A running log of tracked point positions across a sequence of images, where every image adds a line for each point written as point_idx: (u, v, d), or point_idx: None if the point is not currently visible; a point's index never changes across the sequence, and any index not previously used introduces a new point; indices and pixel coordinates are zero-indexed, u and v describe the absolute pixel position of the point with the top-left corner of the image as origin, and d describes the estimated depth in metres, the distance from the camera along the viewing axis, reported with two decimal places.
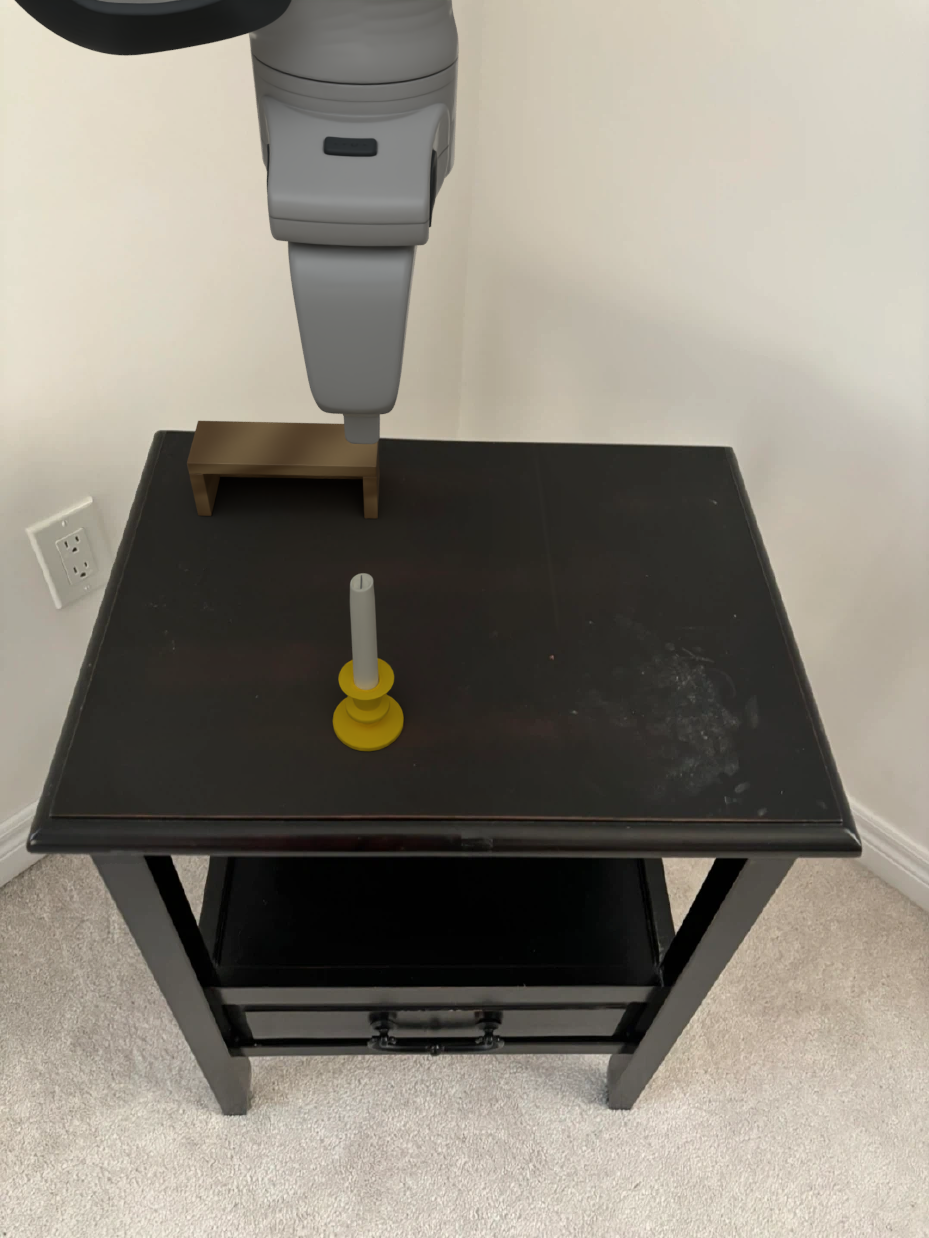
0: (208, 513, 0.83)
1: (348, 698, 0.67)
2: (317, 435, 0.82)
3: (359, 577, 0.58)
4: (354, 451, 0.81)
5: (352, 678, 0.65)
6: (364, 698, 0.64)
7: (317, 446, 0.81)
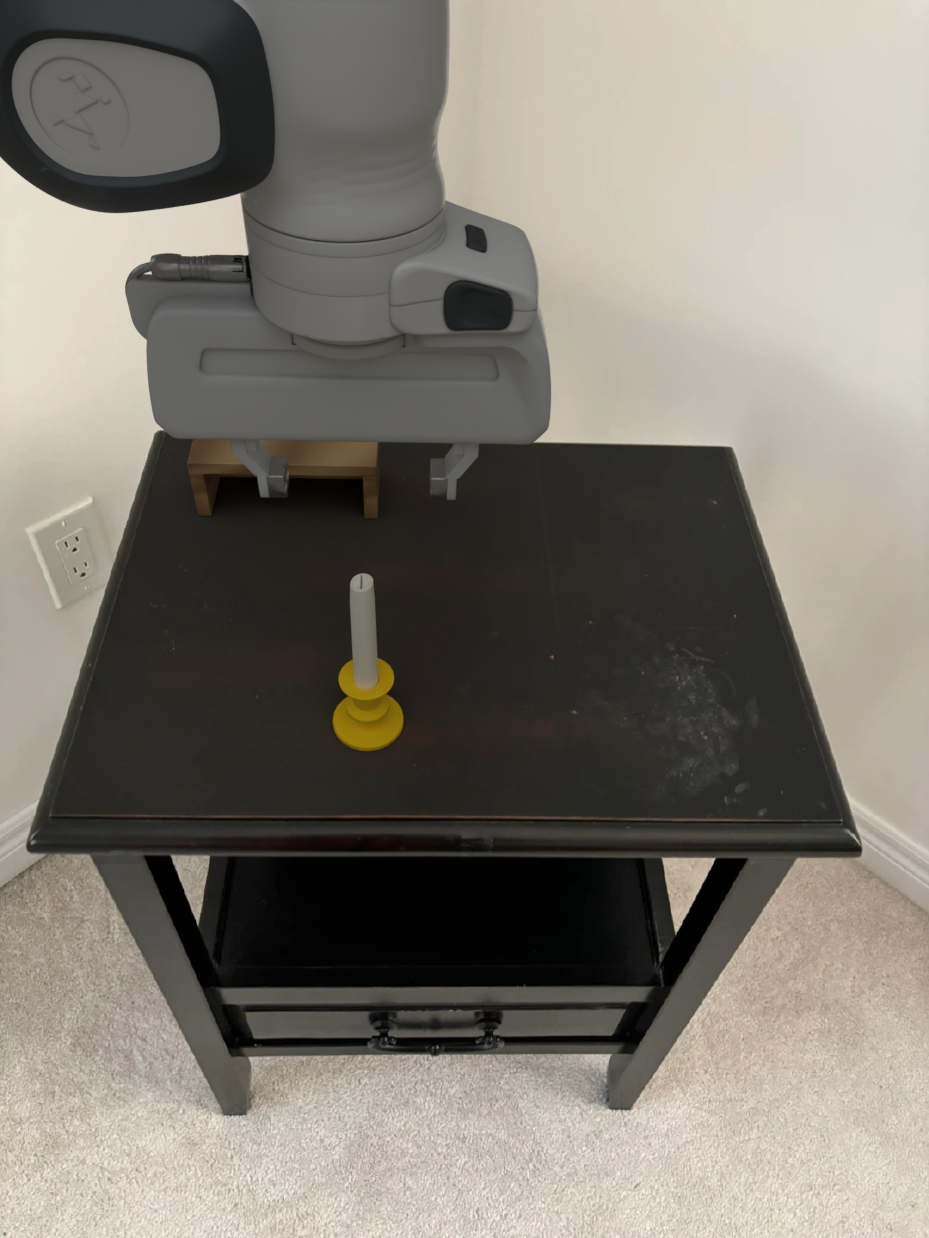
0: (208, 513, 0.83)
1: (348, 698, 0.67)
2: None
3: (359, 577, 0.58)
4: (354, 451, 0.81)
5: (352, 678, 0.65)
6: (364, 698, 0.64)
7: (317, 446, 0.81)
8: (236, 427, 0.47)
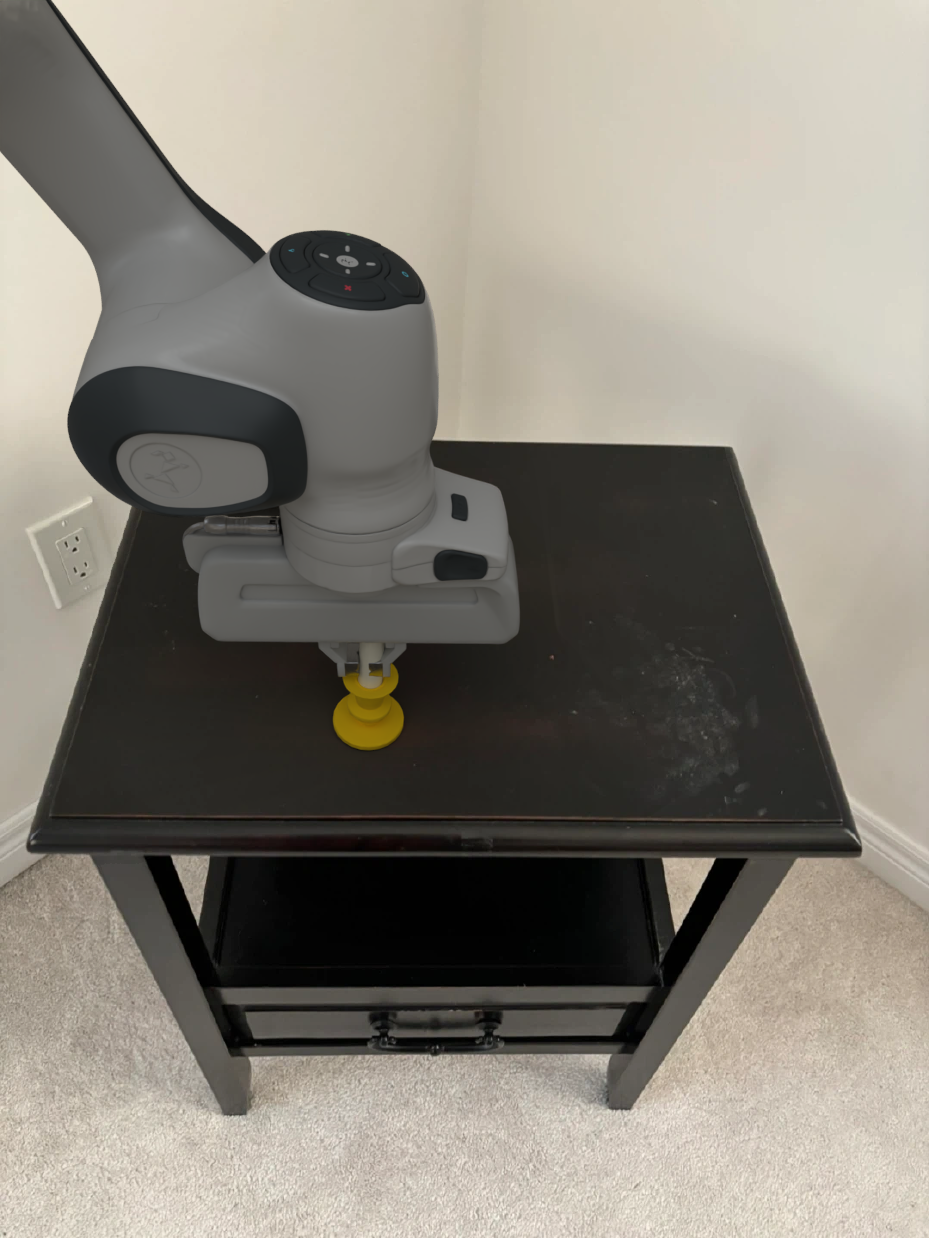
0: None
1: (350, 696, 0.67)
2: None
3: None
4: None
5: (356, 676, 0.65)
6: (368, 697, 0.64)
7: None
8: (267, 634, 0.59)
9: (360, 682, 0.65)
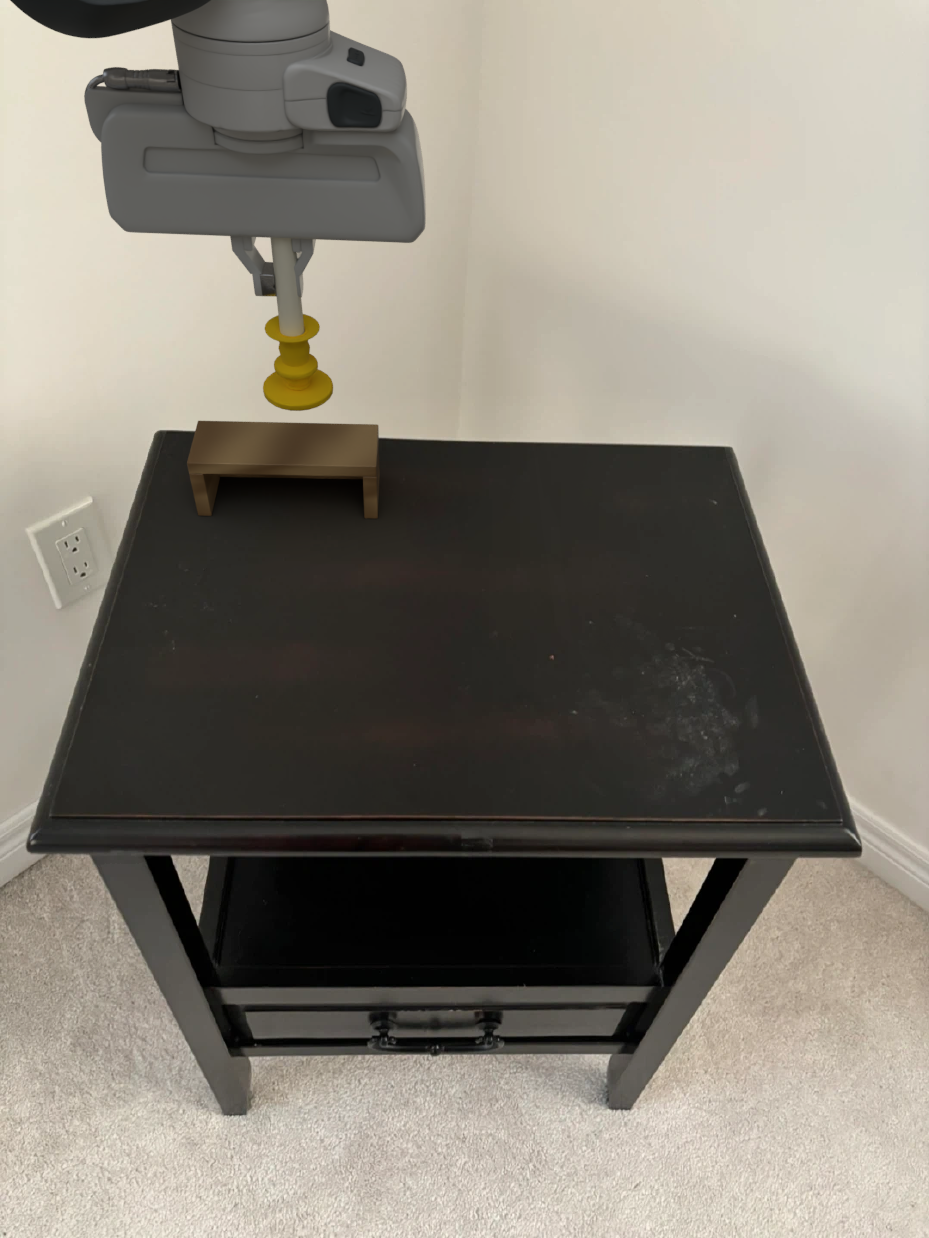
0: (208, 513, 0.83)
1: None
2: (317, 435, 0.82)
3: None
4: (354, 451, 0.81)
5: None
6: (277, 339, 0.65)
7: (317, 446, 0.81)
8: (174, 221, 0.59)
9: (279, 328, 0.66)
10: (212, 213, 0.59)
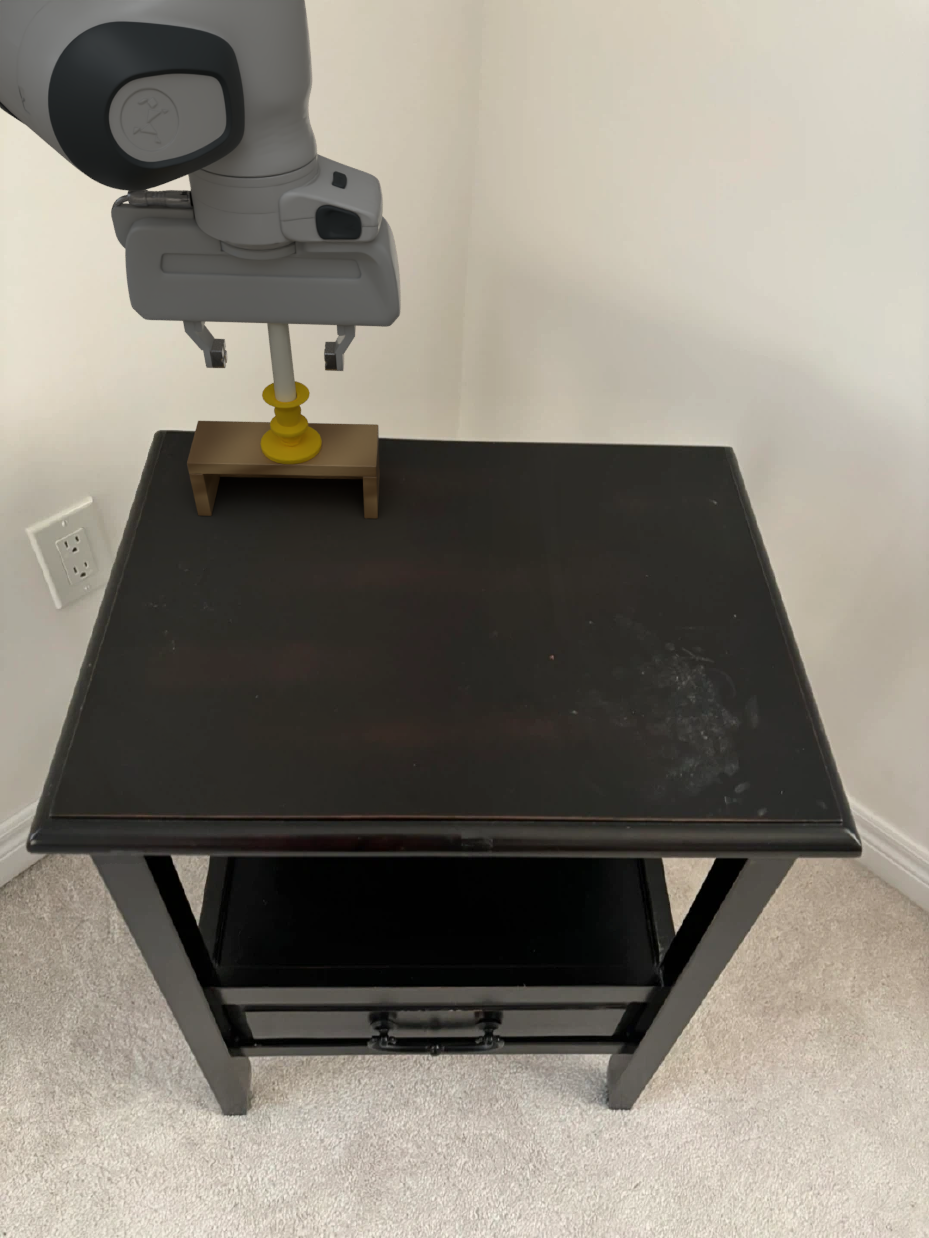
0: (208, 513, 0.83)
1: None
2: None
3: None
4: (354, 451, 0.81)
5: None
6: (273, 405, 0.76)
7: None
8: (186, 311, 0.70)
9: (275, 395, 0.77)
10: (219, 304, 0.69)
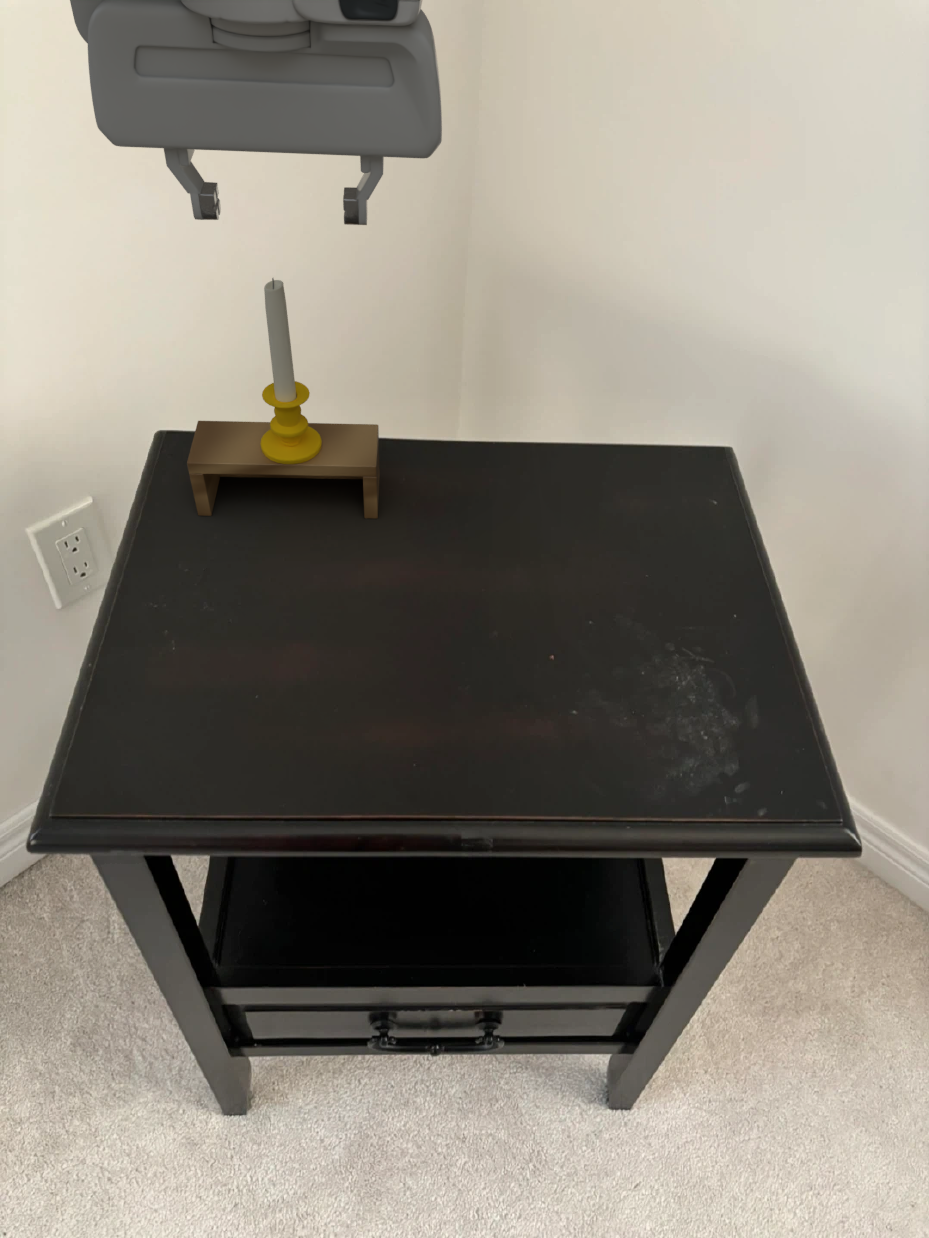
0: (208, 513, 0.83)
1: None
2: None
3: (275, 283, 0.70)
4: (354, 451, 0.81)
5: None
6: (273, 405, 0.76)
7: None
8: (168, 133, 0.54)
9: (275, 395, 0.77)
10: (210, 124, 0.54)
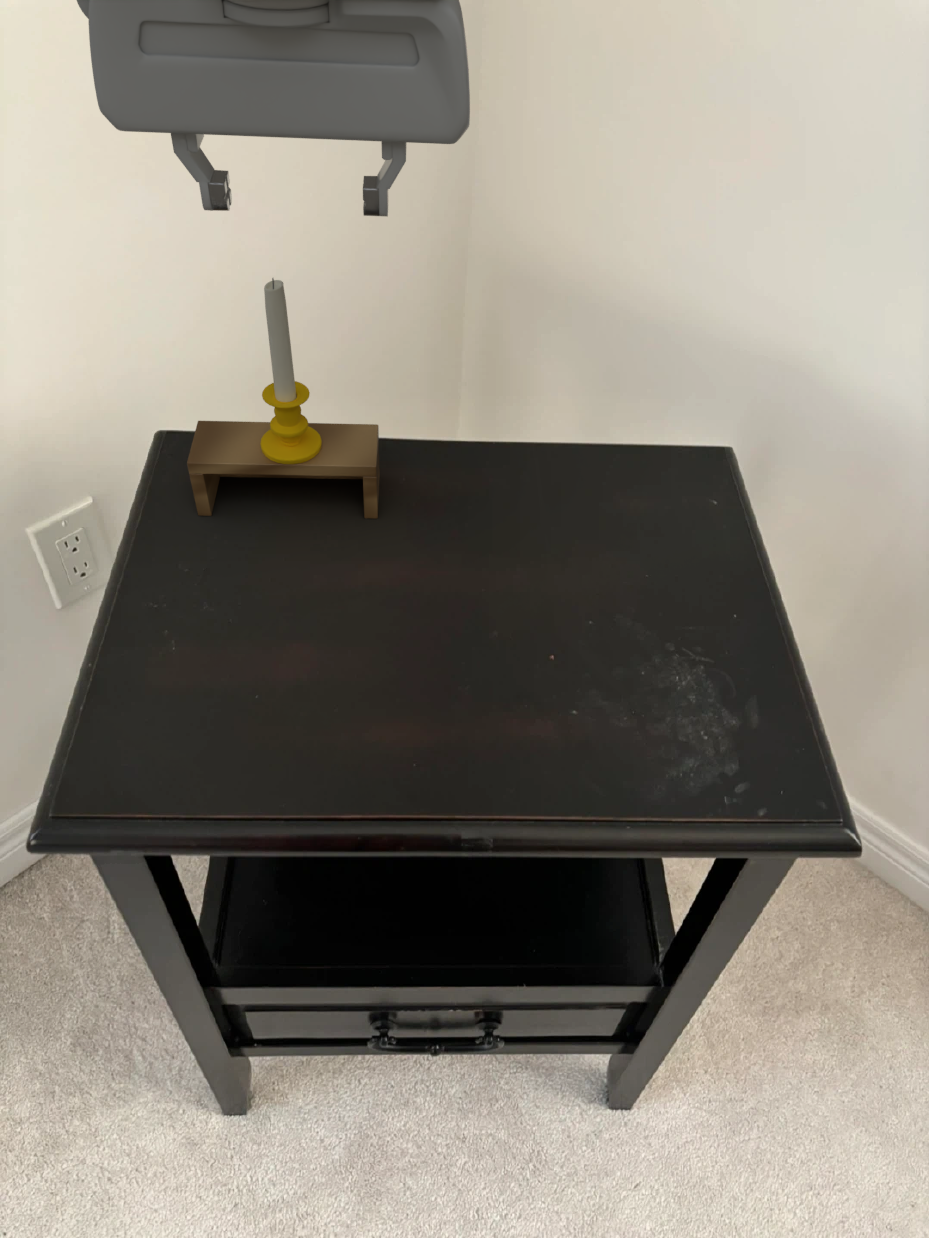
0: (208, 513, 0.83)
1: None
2: None
3: (275, 283, 0.70)
4: (354, 451, 0.81)
5: None
6: (273, 405, 0.76)
7: None
8: (176, 116, 0.50)
9: (275, 395, 0.77)
10: (220, 106, 0.50)
